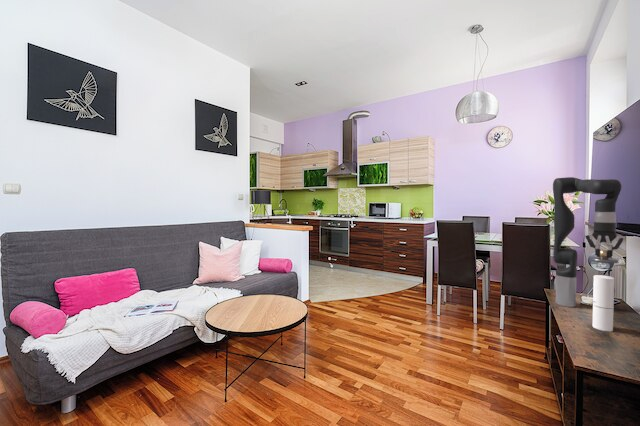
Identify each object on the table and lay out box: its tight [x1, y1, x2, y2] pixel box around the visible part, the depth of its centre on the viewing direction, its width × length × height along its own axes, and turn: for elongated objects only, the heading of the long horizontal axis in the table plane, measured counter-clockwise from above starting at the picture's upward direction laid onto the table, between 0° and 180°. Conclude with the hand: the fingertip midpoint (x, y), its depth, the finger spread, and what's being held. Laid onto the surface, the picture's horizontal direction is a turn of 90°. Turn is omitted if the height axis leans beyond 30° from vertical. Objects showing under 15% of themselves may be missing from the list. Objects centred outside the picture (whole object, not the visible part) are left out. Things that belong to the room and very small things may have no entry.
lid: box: [588, 249, 619, 264], centre depth 140 cm, size 10×10×5 cm
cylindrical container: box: [591, 274, 615, 332], centre depth 141 cm, size 7×7×25 cm
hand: (603, 257), depth 140 cm, fingers closed on lid, 3 cm apart
